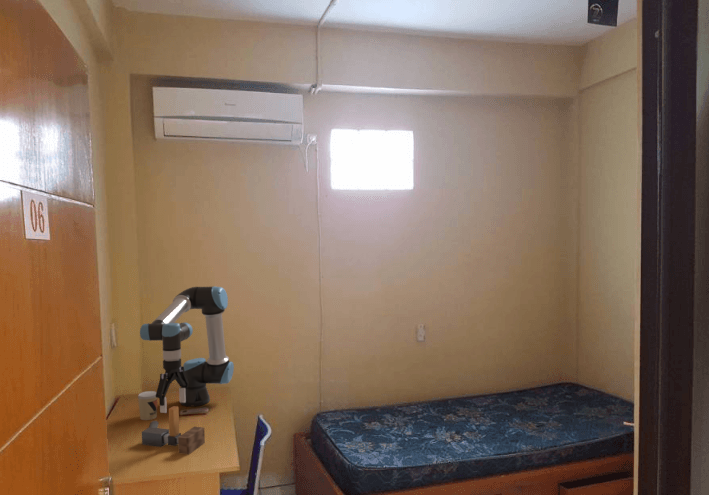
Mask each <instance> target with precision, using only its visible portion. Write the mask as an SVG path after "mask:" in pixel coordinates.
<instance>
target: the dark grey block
mask: <svg viewBox="0 0 709 495" xmlns="http://www.w3.org/2000/svg"><path fill="white" fill-rule="evenodd" d="M165 433H169V428H163V427H162V428H161V427H157V428H154V427H148V428H146V429H144V430H143V431H141V445H143V446H149V447H150V446H151V447H158V448H163V447H164V446H166V445H168V444H167V443H162V435H163V434H165Z"/></svg>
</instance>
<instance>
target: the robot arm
mask: <svg viewBox="0 0 709 495" xmlns="http://www.w3.org/2000/svg"><path fill="white" fill-rule="evenodd" d="M228 298H229V297H228V294H227V291H226V289H225V288H224V287H222V286H192V287H189V288H186V289H185V290H183V291H181V292H179V293H178V294H176V296H175V297H174V298H173V300H172V302H171V304H169V305H168V307H166V308H165V309H164V311H162V312H161V313H160V314H159V315H158V316H157V317H156V318H155V319H154V320H153V321H152V323H143V324H142V325H141V326H140V330H139V336H140V339H141V340H143V341H149V342H152V341H153V342H155V341H159V342H161V341H162V359H163V360H162V369H164V373H160V374H159V382H158V386H157V390H156V391H155V392H156V398H157V399H159V400H158V401H159V412H160V413H162V414H163V413H164V414H167V413H168V412H167V411H168V410H167V408H168V407H167V406H168V405H167V404H168V403H167V397H166V395H167V393H168V390H169V388H170V385H171V384H172V383H173V382H174V381H176V382H177V384H178V385H179V386H180V387H179V388H178V393H179V397H178V398H179V403H180V404H181V406H184V407H199V406H200V407H201V406H203V405H206V404H208V403H209V402H210V401H211V400H210V399H211V396H210V394H209V391H208V387H207V384H212V385H214V384H215V385H224V384H225V385H226V384H229V383H230V381H232V378H233V375H234V371H235V370H234V369H235V366H234V365H235V364H234V362H233V361H230V357H229V356H228V355H227V353H226V345H225V344H226V342H225V333H224V332H225V331H224V321H223V313H224V312H225V310H226V309H227V308H228V306H229V305H228V304H229V303H228V302H229V301H228V300H229V299H228ZM190 310H201V314H202V315H203V316H204V317H205V318H204V319H205V325H206V336H207V347H208V355H209V356H208V358H207V359H206V357H205V358H204V357H197V358H193V359H188V360H186V361H185V362H184V363H183V365H182V359H181V358H182V344H181V343H182V342H183V341H186V340H188V339H189V338H190V337H191V336H192V335H193V332H194V331H193V330H194V328H193V326H192V325H191V324H190V323H188V322H181V323H179V322H177V321H178V319H180V318H181V316H183V314H184V313H187V312H189V311H190Z"/></svg>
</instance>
